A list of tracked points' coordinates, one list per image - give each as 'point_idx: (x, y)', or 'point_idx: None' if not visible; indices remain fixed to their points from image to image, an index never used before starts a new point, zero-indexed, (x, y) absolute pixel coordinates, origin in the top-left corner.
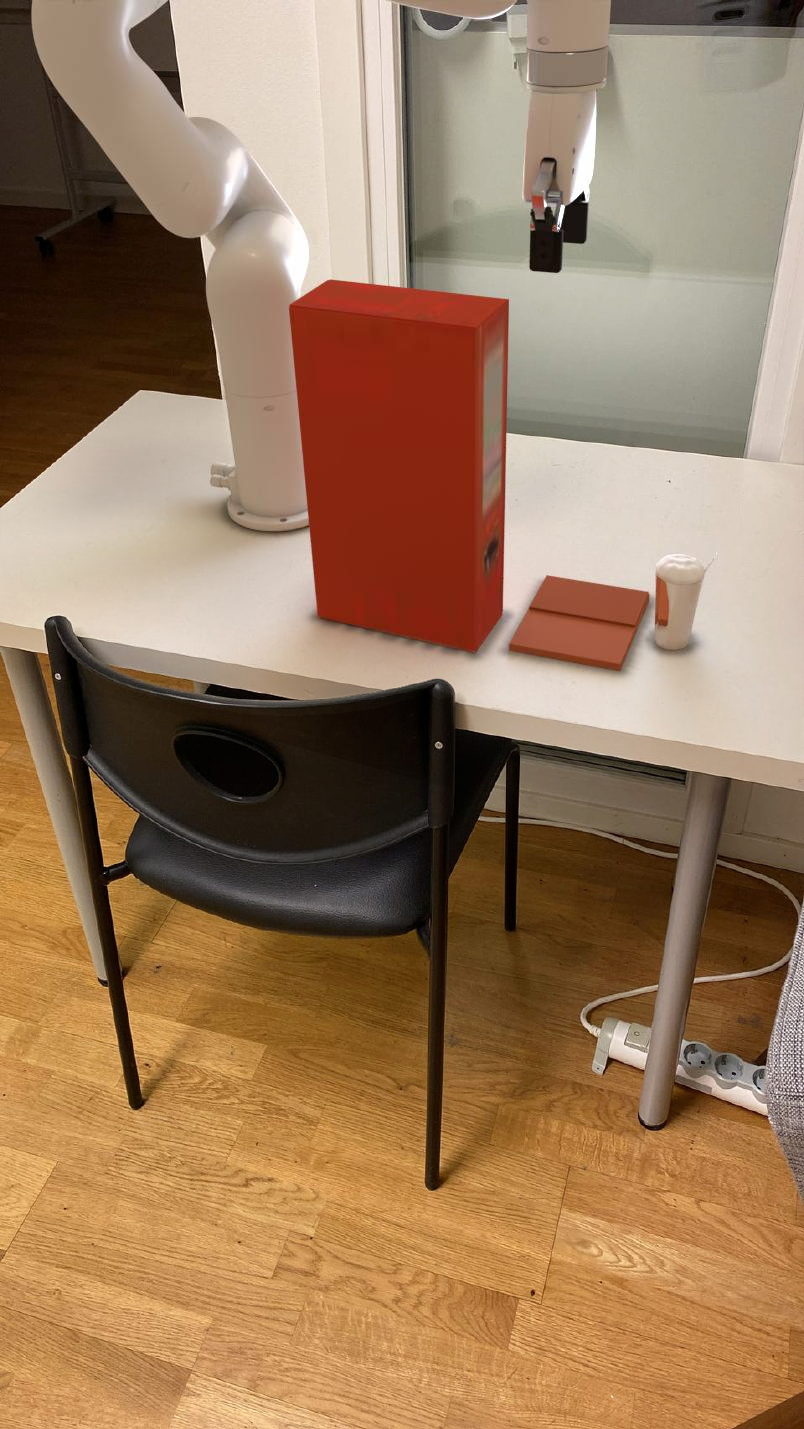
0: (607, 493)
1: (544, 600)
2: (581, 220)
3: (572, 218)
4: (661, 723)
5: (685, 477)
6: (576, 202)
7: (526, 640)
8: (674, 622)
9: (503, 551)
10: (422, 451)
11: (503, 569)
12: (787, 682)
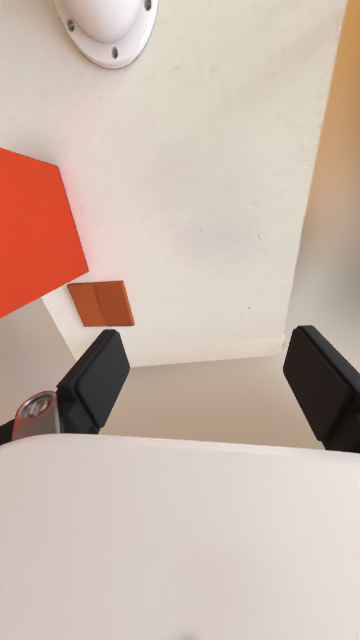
0: (226, 281)
1: (101, 289)
2: (304, 403)
3: (312, 391)
4: (71, 341)
5: (256, 314)
6: (339, 436)
7: (73, 291)
8: None
9: (67, 282)
10: None
11: (74, 278)
12: None
